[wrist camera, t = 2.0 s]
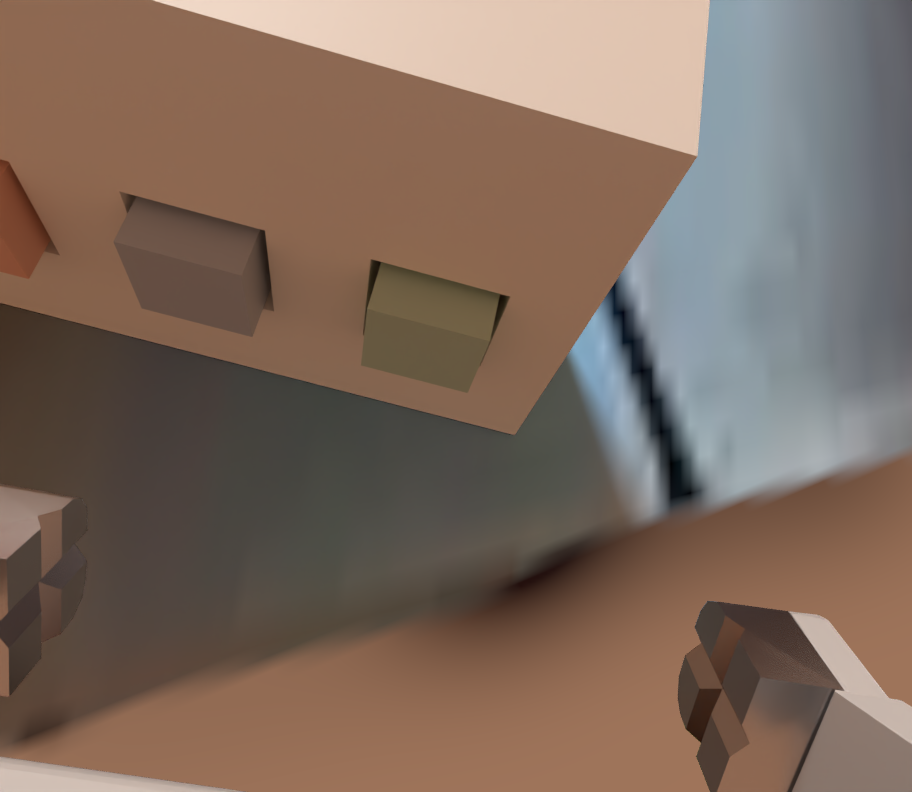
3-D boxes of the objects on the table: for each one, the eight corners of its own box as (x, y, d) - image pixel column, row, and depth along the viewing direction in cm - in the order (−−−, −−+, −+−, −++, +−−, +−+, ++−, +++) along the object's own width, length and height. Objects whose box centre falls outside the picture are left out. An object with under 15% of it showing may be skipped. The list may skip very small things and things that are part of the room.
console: (-70, 284, 32) (-477, -180, 16) (15, 147, 35) (-245, -350, 19) (514, 435, 33) (697, 156, 17) (541, 289, 37) (714, -57, 21)
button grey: (141, 308, 26) (113, 241, 23) (167, 252, 27) (144, 180, 24) (252, 337, 27) (241, 275, 23) (273, 280, 28) (266, 213, 24)
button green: (361, 365, 27) (367, 308, 23) (377, 308, 28) (386, 245, 24) (467, 392, 27) (490, 341, 24) (480, 335, 28) (503, 277, 25)
